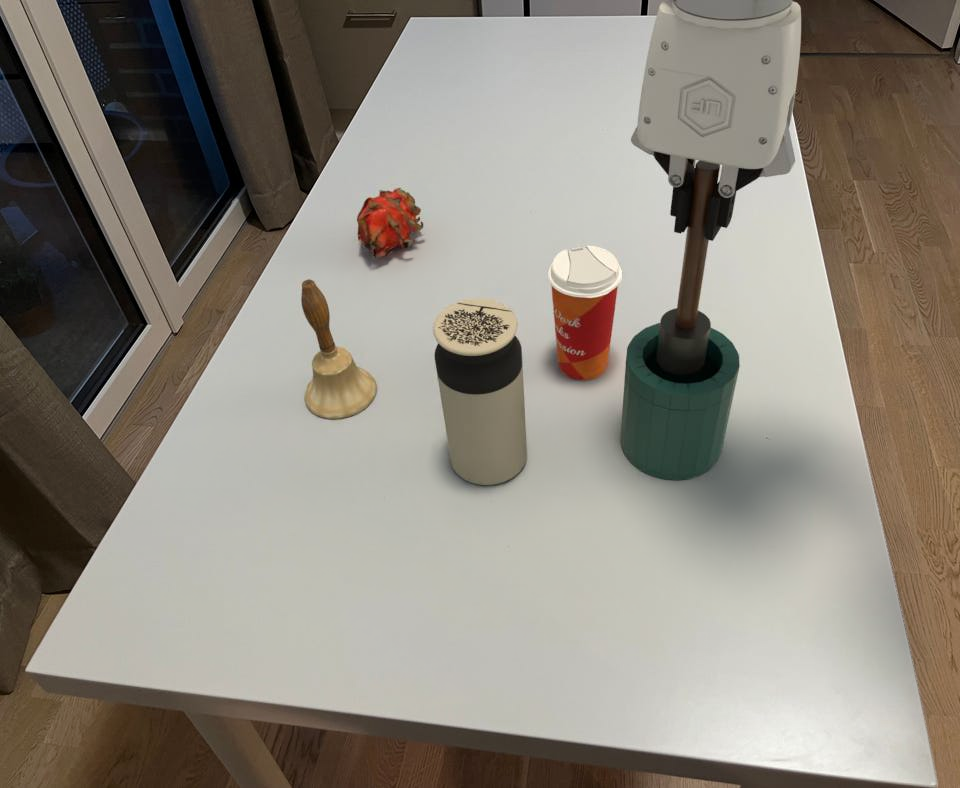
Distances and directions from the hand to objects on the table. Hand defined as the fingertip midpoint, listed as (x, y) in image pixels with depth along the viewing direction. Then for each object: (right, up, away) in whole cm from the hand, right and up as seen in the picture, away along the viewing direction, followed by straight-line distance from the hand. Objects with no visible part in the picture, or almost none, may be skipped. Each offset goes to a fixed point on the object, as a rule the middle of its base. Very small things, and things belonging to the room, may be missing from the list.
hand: (699, 226), depth 64 cm
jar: (+2, -18, +18) cm, 26 cm away
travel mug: (-17, -20, +19) cm, 32 cm away
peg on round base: (+1, -10, +10) cm, 15 cm away
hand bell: (-34, -14, +27) cm, 45 cm away
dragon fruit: (-30, +7, +48) cm, 57 cm away
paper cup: (-6, -10, +28) cm, 30 cm away
